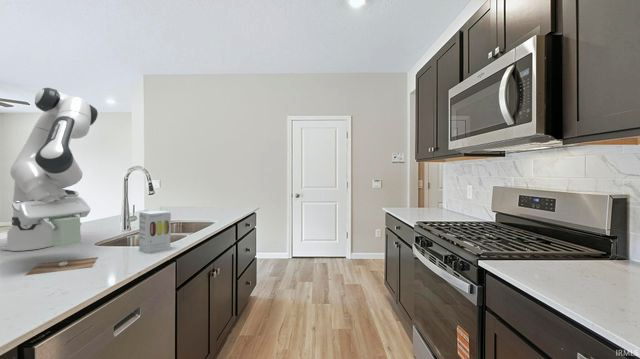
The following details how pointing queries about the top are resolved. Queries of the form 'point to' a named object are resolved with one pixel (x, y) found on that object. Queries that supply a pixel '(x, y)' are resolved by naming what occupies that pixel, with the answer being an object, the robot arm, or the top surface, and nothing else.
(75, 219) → the sage green eraser
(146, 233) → the supplement box
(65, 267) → the walnut board
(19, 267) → the top surface
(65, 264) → the cream dish
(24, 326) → the top surface
